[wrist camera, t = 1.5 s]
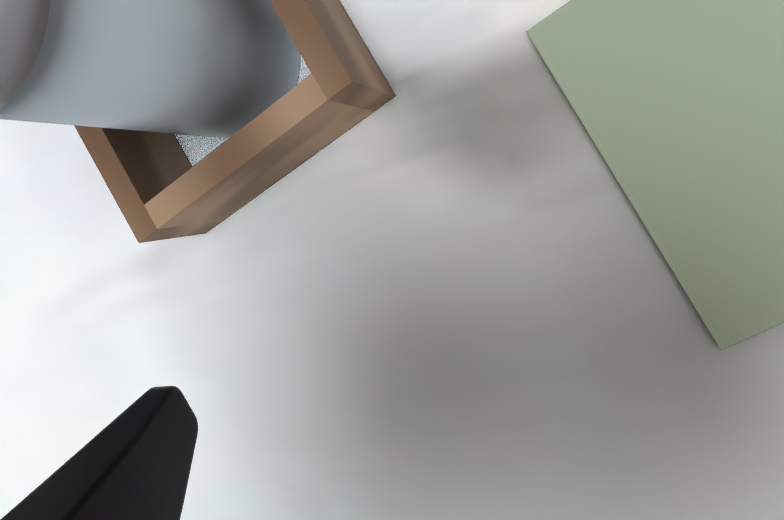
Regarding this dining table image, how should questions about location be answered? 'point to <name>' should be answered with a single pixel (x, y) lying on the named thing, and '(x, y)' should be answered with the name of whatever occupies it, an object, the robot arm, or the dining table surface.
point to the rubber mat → (689, 137)
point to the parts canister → (144, 63)
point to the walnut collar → (245, 134)
